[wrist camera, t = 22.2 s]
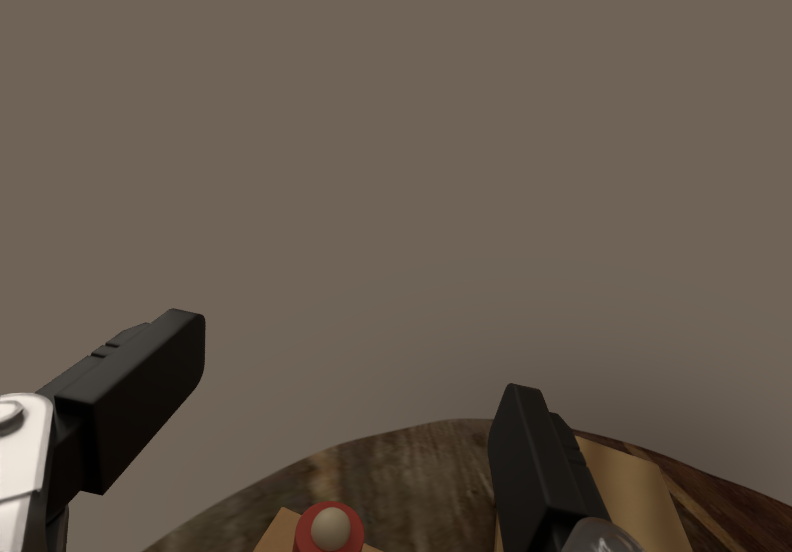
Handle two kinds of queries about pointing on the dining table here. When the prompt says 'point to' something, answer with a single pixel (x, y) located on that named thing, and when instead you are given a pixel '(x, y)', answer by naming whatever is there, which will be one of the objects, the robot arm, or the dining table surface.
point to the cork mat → (286, 534)
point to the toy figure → (329, 529)
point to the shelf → (631, 499)
